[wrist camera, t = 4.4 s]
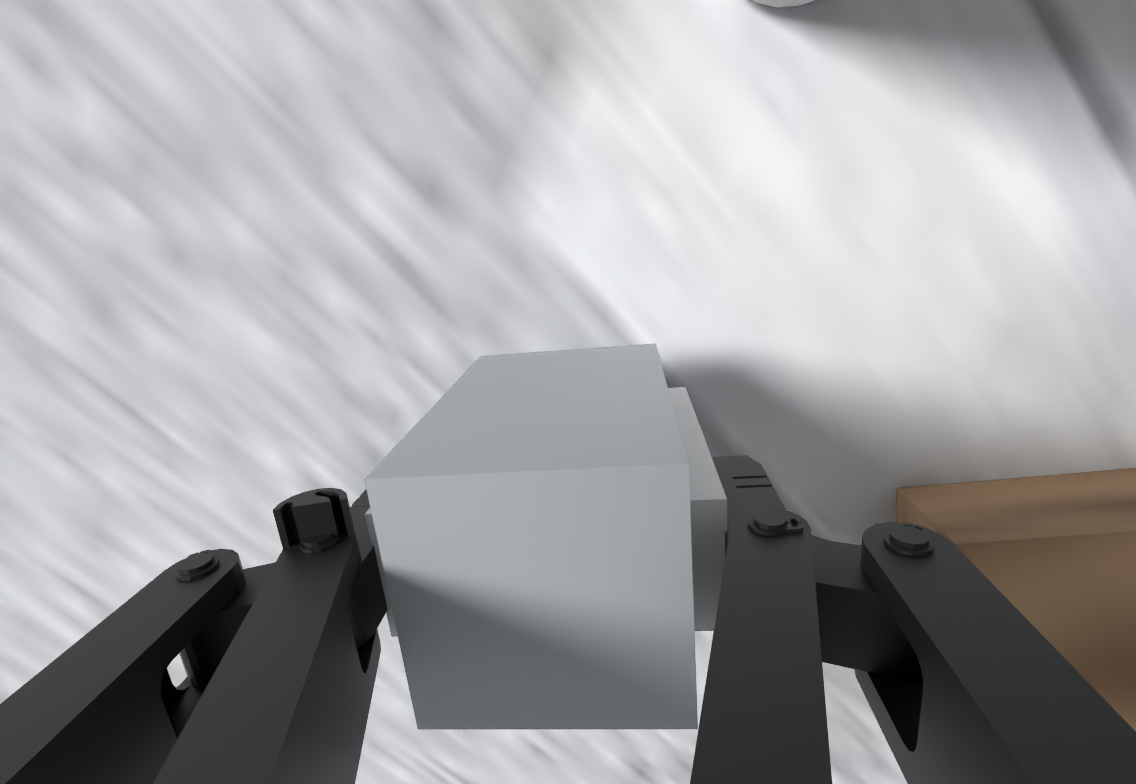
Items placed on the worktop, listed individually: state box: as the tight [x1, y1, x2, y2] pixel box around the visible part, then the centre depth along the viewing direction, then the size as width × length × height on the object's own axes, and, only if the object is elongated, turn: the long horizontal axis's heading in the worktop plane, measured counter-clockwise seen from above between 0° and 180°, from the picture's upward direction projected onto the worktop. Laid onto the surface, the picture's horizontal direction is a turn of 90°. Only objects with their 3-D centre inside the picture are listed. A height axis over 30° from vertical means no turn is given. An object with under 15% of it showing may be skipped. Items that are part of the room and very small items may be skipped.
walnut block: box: [896, 468, 1136, 731], centre depth 19 cm, size 10×10×4 cm
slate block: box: [364, 344, 698, 729], centre depth 13 cm, size 5×5×8 cm
